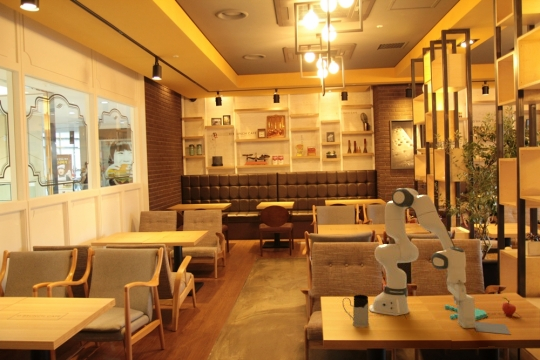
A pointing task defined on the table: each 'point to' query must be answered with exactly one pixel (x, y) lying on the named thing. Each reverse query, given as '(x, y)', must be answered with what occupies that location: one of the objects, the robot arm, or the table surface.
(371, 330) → the table surface
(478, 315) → the alien figure
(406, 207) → the robot arm
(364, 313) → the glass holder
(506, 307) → the apple
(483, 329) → the mat
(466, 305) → the skincare box
